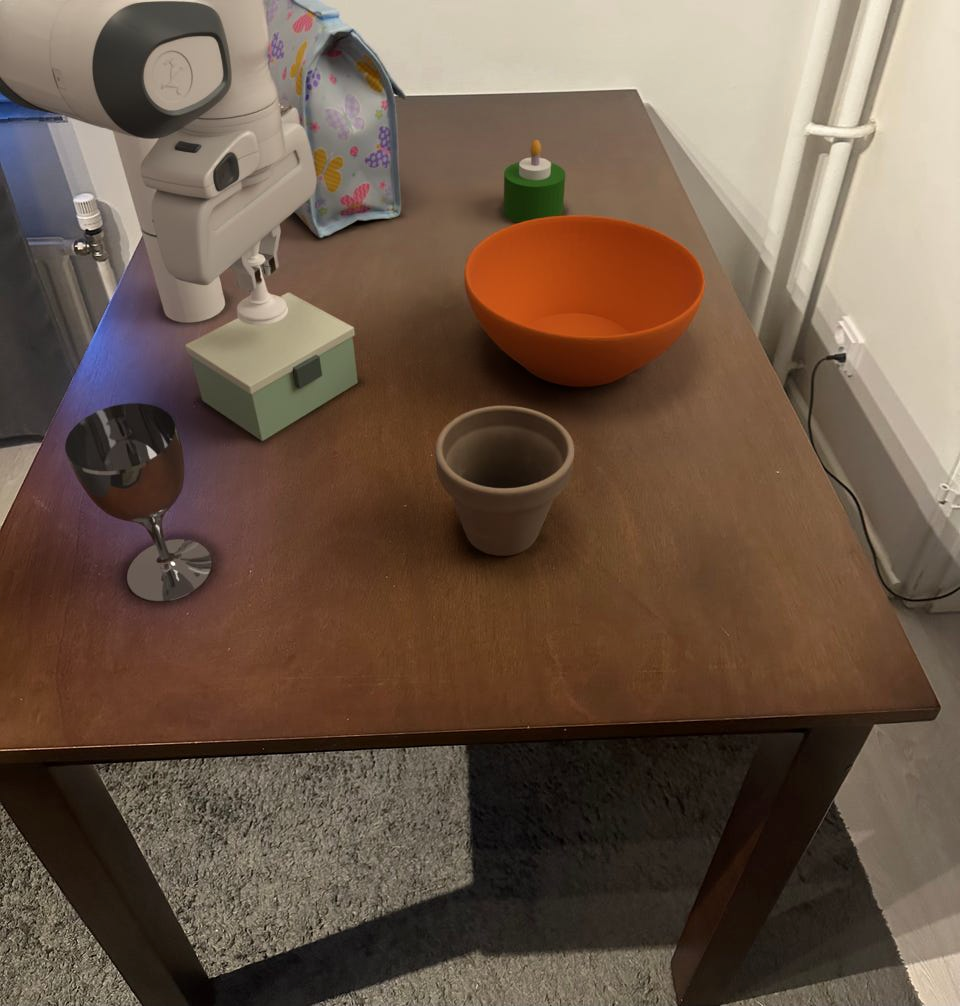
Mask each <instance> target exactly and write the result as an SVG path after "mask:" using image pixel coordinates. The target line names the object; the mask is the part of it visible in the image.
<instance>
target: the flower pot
mask: <svg viewBox="0 0 960 1006" xmlns="http://www.w3.org/2000/svg"><path fill="white" fill-rule="evenodd" d="M434 448H435V449H434V456H435V468H436V475H437V478H438V481H439V482H440V485H441V487H442V488H443V489H444V490H445V492H446V493H447V494H448V495H449V496H451V497H452V498H453V502H454V505H455V508H456V512H457V514H458V518H459V520H460V523H461V525H462V528H463V531H464V533H465V536H466V538H467V539H468V541H469V543H470V544H471V545H472V546H473V547H474V548H476V549H477V550H478V551H481V552H483V553H484V554H488V555H490V556H495V557H508V556H513V555H518V554H521V553H523V552H525V551H526V550H528V549H529V548H530V547H531V546H533V544H534V543H535V541H536V540H537V538H538V536H539V535H540V533H541V530H542V528H543V525H544V524H545V522H546V519H547V516H548V515H549V514H548V513H549V511H550V509H551V507H552V505H553V501H554V499H555V498H557V497H558V496H559V495H560V494H562V493H563V491H564V490H565V489H566V488H567V486H568V484H569V482H570V480H571V476H572V472H573V465H574V460H575V453H576V451H575V444H574V440H573V438H572V436H571V435H570V433H569V431H568V430H567V429H566V428H565V427H564V426H563V425H562V424H561V423H559V422H558V421H557V420H556V419H553V418H552V417H551V416H549V415H546V414H544V413H542V412H540V411H537V410H534V409H531V408H526V407H522V406H514V405H492V406H486V407H485V406H484V407H479V408H476V409H472V410H469V411H467V412H465V413H462V414H460V415H459V416H457V417H455V418H453V419H452V420H451V421H450V422H448V424H446V425H445V426H444V427H443V429H442V430H441V431H440V433H439V435H438V437H437V439H436V442H435V447H434Z"/></svg>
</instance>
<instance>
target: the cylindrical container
mask: <svg viewBox="0 0 960 1006" xmlns="http://www.w3.org/2000/svg"><path fill="white" fill-rule="evenodd" d="M112 133H113V137H114V141H115V144H116V147H117V150H118V155H119V158H120V162H121V165H122V168H123V171H124V176H125V178H126V182H127V186H128V190H129V192H130V197H131V200H132V204H133V208H134V211H135V213H136V217H137V221H138V224H139V227H140V231H141V235H142V239H143V241H144V245H145V249H146V252H147V256H148V259H149V263H150V266H151V270H152V273H153V277H154V280H155V285H156V288H157V291H158V295H159V298H160V302H161V306H162V309H163V312H164V315H165V316H166V317H167V318H168V319H170V320H172V321H175V322H177V323H178V322H179V323H184V324H185V323H186V324H187V323H188V324H189V323H200V322H204V321H206V320H210V319H212V318H213V317H216V316H217V315H219V314H220V313H221V312H222V311H223V310H224V308H225V306H226V301H225V295H224V292H223V286H222V282H221V279H220V275H219V276H218V277H217V278H216V279H215V280H213V281H212V282H211V283H210V284H208V285H198V284H194V283H189V282H185V281H181V280H178V279H176V278H175V277H174V276H172V275H171V274H170V273H169V272H168V271H167V269H166V267H165V264H164V261H163V258H162V254H161V251H160V247H159V244H158V240H157V236H156V231H155V227H154V222H153V217H152V200H153V196H154V194H155V192H156V189H153V188H150V187H147V186H146V185H145V184H144V182H143V179H142V175H141V169H140V168H141V163H142V161H143V160H144V158H145V157H146V156H147V154H148V153H149V152H150V150H151V149H152V148H153V146H154V145H155V143H156V142H157V140H158V139H159V138H156V139H145V138H137V137H132V136H128V135H125V134H121V133H118V132H115V131H112Z"/></svg>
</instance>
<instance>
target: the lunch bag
mask: <svg viewBox="0 0 960 1006" xmlns="http://www.w3.org/2000/svg"><path fill="white" fill-rule="evenodd" d="M263 4H264V10H265V16H266V22H267V28H268V35H269V46H268V55H267V56H268V67H269V71H270V74H271V76H272V79H273V81H274V83H275V86H276V89H277V93H278V100H279V101H280V100H286V101H287V102H289V103H291V104H292V105H293V106H294V107H295V108H296V109H297V111H298V114H299V121H300V125H301V126H302V127H303V128H304V129H305V131H306V134H307V137H308V140H309V143H310V147H311V152H312V156H313V160H314V166H315V171H316V176H317V184H316V190H315V194H314V195H313V196H312V197H311V198H310V199H309V200H307V201H306V202H305V203H304V204H303V205H302V206H300V207H299V208H298V209H297V210H296V211H294V212H293V213H294V214H296V215H297V216H298V218H300V220H301V221H302V222H303V223H304V224H305V225H306V226H307V227H308V228H309V230H310V231H311V232H312V233H313V234H314V235H315V236H316V237H318V238H320V239H322V238H324V237H328V236H330V235H332V234H334V233H336V232H338V231H340V230H342V229H344V228H346V227H349V226H350V225H352V224H353V223H355V222H357V221H364V222H366V221H371V220H383V219H384V220H386V219H387V220H391V219H394V218H397V217H399V216H400V215H401V211H402V198H401V197H402V196H401V180H400V162H399V133H398V132H399V131H398V114H397V105H396V99H395V98H396V97H395V96H397V97H398V98H399V99H402V100H407V95H406V94H405V93H404V91H403V89H402V88H401V87H400V86H399V85H398V83H397V82H396V80H395V79H394V78H393V77H392V74H391V73H390V71H389V70H388V69H387V66H386V64H385V63H384V62H383V60H382V59H381V57H380V56H379V54H378V52H376V50H375V49H374V48H373V47H372V46H371V45H370V43H368V42H367V41H366V39H365V38H364V37H363V35H361V34H360V32H358V30H357V29H356V28H355V27H353V25H351V24H350V23H347V22H345V21H343V19H341V18H340V14H341V13H340V10H339V8H338V7H332V6H330V5H328V4H326V3H324V2H323V1H322V0H263Z"/></svg>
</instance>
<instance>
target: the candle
mask: <svg viewBox="0 0 960 1006" xmlns="http://www.w3.org/2000/svg"><path fill="white" fill-rule="evenodd" d="M529 151H530V157H526V158H523V159H521V160H520V161H518V162H515V163H512V164H510V165H509V166H507V167H506V168H505V169H504V172H503V215H504V217H506V219H508V220H509V221H511V222H513V223H515V224H517V223H521V222H525V221H529V220H533V219H538V218H545V217H553V216H563V213H564V201H565V186H566V171H565V170H564V169H563V167H561V166H559V165H558V164H555V163H553V162H551V161H550V160H548V159H546V158H543V157H540V155H541V151H542V144H541V143H540V140H538V139H534V140H533V141H532V143H531V145H530V150H529Z"/></svg>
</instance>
